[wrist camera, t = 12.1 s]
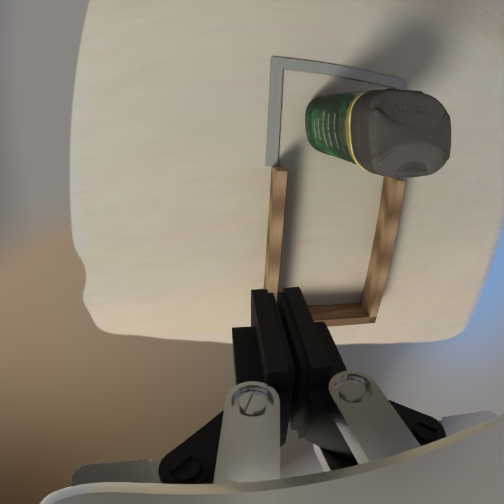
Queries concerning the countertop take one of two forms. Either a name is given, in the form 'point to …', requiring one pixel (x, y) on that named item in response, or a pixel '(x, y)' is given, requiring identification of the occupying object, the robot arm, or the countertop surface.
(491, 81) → the countertop surface
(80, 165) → the countertop surface
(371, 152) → the coffee jar
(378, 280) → the wooden u-shaped frame
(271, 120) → the grey bay
